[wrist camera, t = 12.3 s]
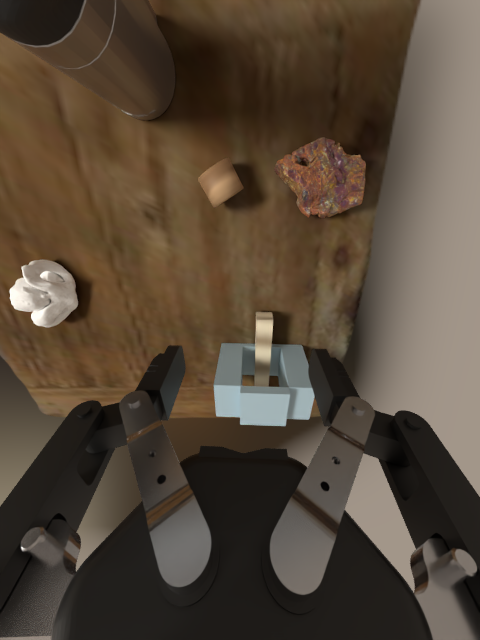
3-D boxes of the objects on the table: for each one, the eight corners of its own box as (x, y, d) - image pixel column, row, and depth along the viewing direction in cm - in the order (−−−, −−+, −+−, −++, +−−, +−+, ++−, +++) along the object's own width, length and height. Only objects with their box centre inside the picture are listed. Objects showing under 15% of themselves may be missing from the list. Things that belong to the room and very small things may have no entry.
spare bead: (201, 181, 33) (194, 179, 29) (230, 160, 32) (227, 155, 27) (216, 207, 35) (211, 209, 30) (244, 188, 33) (243, 187, 29)
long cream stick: (256, 311, 42) (256, 319, 40) (271, 312, 42) (273, 319, 40) (253, 393, 53) (254, 403, 51) (266, 393, 53) (267, 403, 50)
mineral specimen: (279, 229, 34) (281, 205, 28) (272, 181, 35) (273, 146, 28) (360, 215, 33) (384, 186, 26) (353, 165, 33) (374, 124, 26)
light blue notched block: (221, 343, 47) (212, 392, 36) (301, 344, 47) (318, 395, 35) (223, 371, 51) (215, 423, 40) (297, 373, 51) (310, 426, 39)
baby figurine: (65, 324, 47) (5, 330, 40) (60, 264, 46) (-3, 258, 38) (86, 329, 43) (24, 336, 35) (81, 262, 41) (15, 254, 33)
